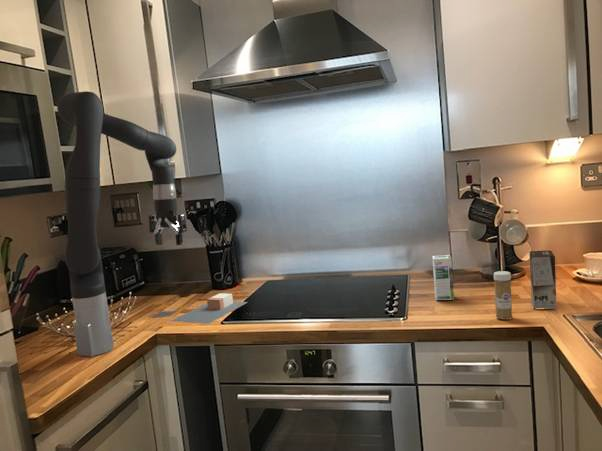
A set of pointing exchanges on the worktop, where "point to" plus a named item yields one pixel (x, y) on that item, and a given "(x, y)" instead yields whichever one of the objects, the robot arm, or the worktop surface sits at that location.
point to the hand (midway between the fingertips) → (169, 244)
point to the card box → (220, 301)
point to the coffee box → (543, 279)
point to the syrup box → (443, 277)
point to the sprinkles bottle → (503, 294)
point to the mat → (207, 313)
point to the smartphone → (164, 314)
